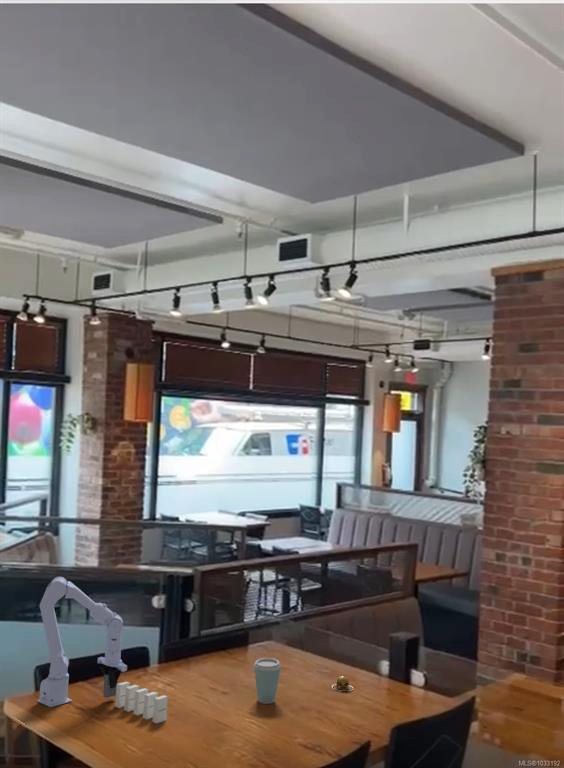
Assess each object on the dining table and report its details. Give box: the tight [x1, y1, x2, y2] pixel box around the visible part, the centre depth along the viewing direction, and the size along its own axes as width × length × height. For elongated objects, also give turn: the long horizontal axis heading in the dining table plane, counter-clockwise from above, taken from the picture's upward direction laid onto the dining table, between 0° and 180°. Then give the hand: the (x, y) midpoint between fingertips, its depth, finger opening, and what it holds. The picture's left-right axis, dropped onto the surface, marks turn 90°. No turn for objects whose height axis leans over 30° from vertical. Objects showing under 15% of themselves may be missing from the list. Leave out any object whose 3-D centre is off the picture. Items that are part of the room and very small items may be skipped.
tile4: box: [133, 687, 149, 716], centre depth 272 cm, size 4×2×8 cm, turn 142°
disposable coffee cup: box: [253, 657, 282, 705], centre depth 292 cm, size 11×11×15 cm
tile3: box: [123, 684, 140, 712], centre depth 275 cm, size 4×2×8 cm, turn 142°
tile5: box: [142, 691, 159, 720], centre depth 269 cm, size 4×2×8 cm, turn 142°
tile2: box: [114, 681, 131, 709], centre depth 278 cm, size 4×2×8 cm, turn 142°
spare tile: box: [103, 673, 118, 699], centre depth 282 cm, size 4×2×8 cm, turn 142°
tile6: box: [152, 694, 169, 724], centre depth 265 cm, size 4×2×8 cm, turn 142°
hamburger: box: [331, 675, 354, 692], centre depth 312 cm, size 12×12×6 cm
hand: (110, 686), depth 282 cm, fingers closed on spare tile, 2 cm apart
